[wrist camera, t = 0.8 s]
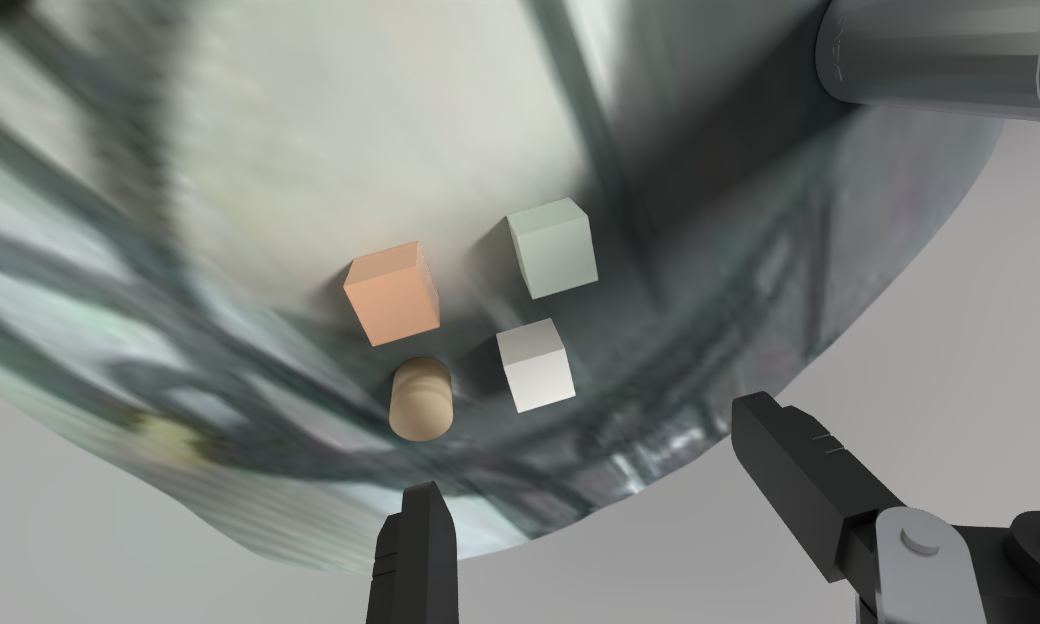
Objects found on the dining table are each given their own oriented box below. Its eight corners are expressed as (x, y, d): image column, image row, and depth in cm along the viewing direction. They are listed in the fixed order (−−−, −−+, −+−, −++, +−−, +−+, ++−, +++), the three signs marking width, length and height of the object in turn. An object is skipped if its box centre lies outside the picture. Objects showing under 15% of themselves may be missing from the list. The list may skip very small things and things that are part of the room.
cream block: (550, 317, 40) (564, 348, 36) (560, 361, 43) (575, 395, 38) (495, 333, 40) (503, 366, 36) (509, 377, 42) (518, 412, 38)
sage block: (568, 196, 35) (587, 215, 31) (579, 255, 38) (598, 280, 33) (506, 214, 35) (516, 236, 31) (520, 272, 38) (532, 299, 33)
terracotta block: (417, 240, 35) (415, 265, 30) (438, 296, 37) (439, 326, 33) (354, 258, 35) (343, 286, 30) (379, 313, 37) (372, 346, 33)
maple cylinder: (440, 350, 40) (441, 385, 35) (457, 393, 42) (460, 430, 38) (384, 366, 40) (379, 404, 35) (405, 408, 42) (402, 448, 38)
